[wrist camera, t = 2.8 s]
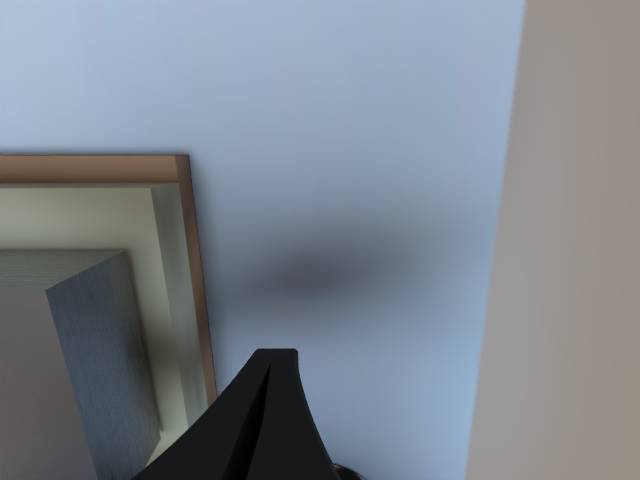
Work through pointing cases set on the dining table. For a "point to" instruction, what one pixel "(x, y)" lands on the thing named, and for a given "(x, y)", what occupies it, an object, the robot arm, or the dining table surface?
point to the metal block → (72, 369)
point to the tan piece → (127, 256)
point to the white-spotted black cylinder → (347, 474)
